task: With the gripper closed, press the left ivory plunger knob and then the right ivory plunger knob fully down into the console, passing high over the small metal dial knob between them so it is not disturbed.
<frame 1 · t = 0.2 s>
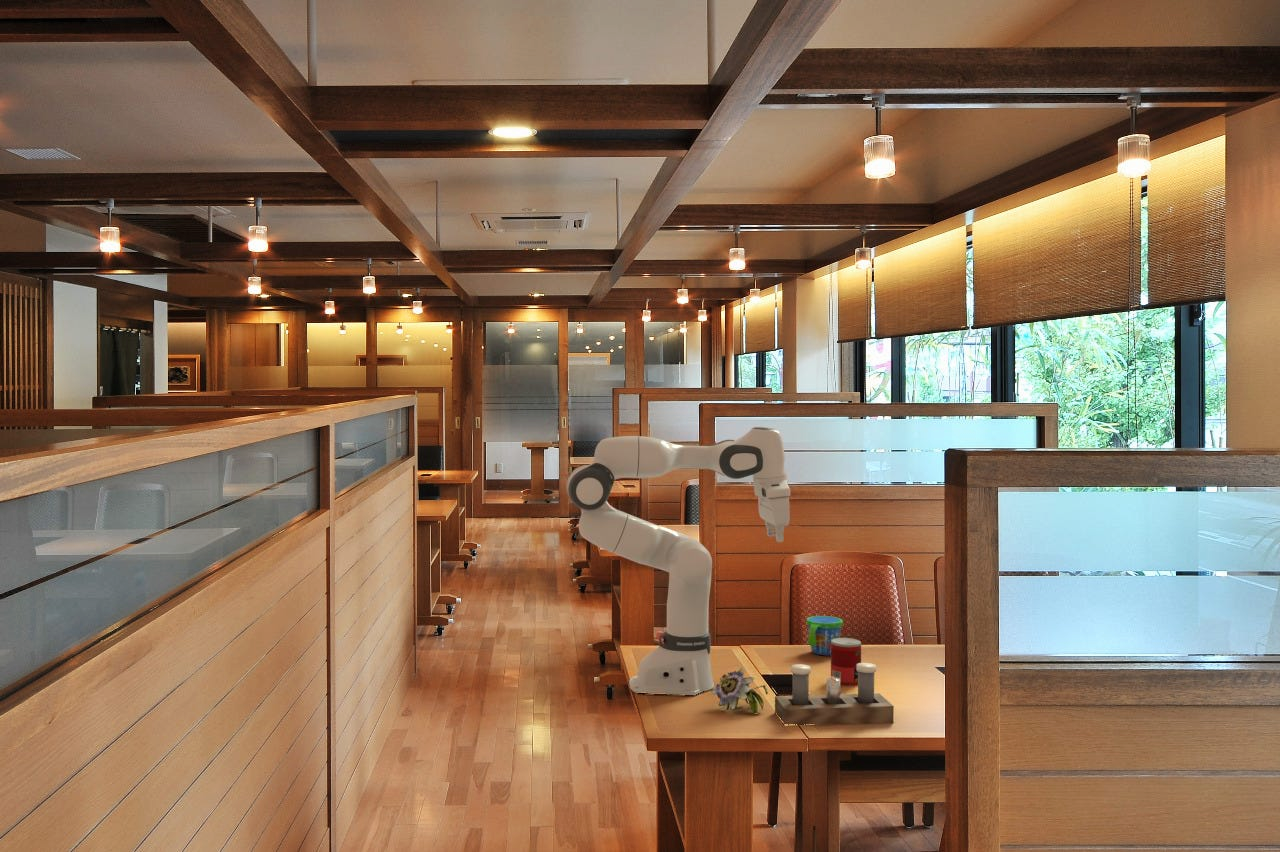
hand: (775, 539, 263), 39 cm above the table, tool pointing down, fingers open, 8 cm apart
canned food: (845, 682, 266), on the table
knob right: (866, 684, 237), point 8 cm above the table, slide at 0.0 cm
passion flower: (739, 709, 243), on the table
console: (833, 717, 236), on the table
snack cup: (824, 653, 296), on the table
knob left: (800, 686, 235), point 8 cm above the table, slide at 0.0 cm
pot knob: (833, 691, 236), point 6 cm above the table, slide at 0.0 cm
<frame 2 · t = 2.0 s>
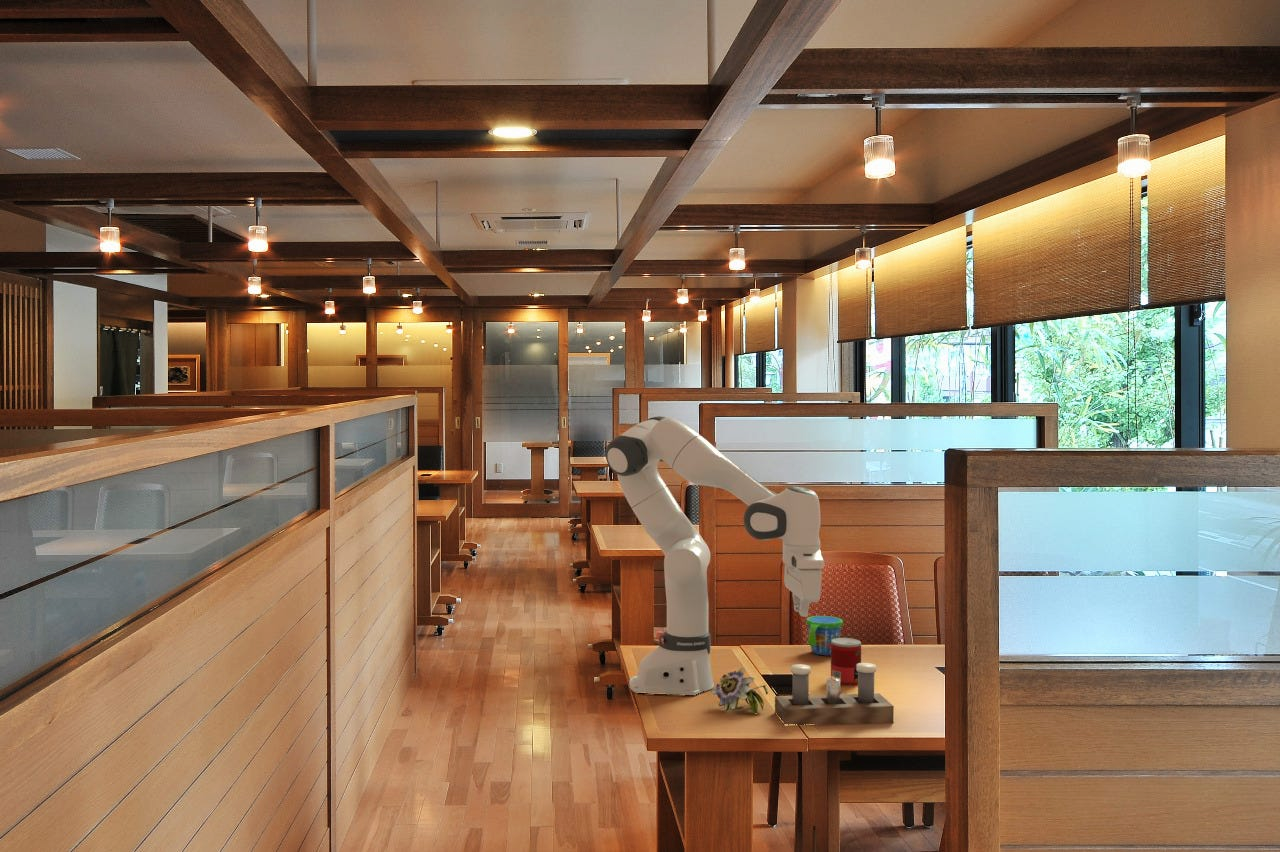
hand: (801, 613, 235), 25 cm above the table, tool pointing down, fingers open, 3 cm apart
nothing on the table moved.
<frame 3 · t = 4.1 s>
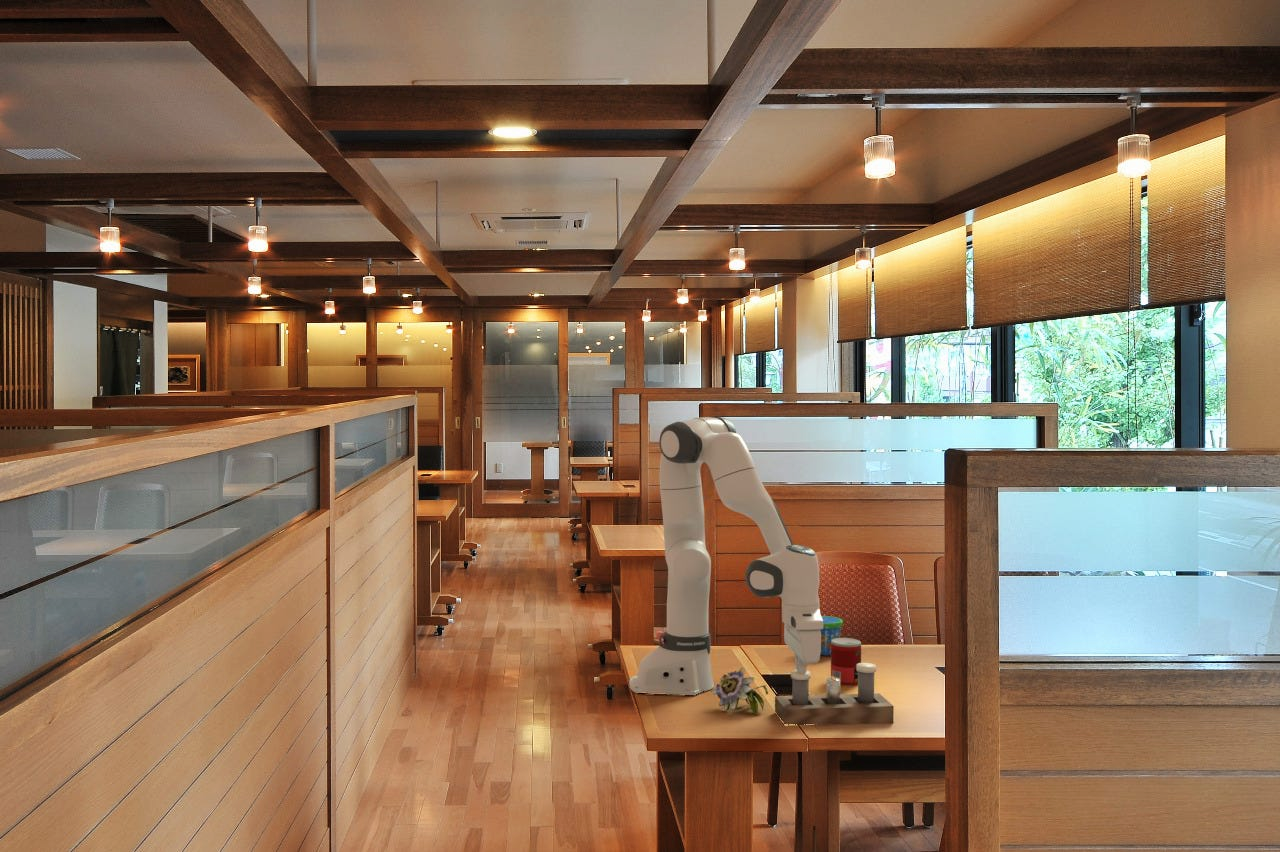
hand: (801, 672, 235), 11 cm above the table, tool pointing down, fingers closed, pressing on knob left
knob left: (800, 691, 235), point 6 cm above the table, slide at 1.3 cm, touching gripper
everything else where it was.
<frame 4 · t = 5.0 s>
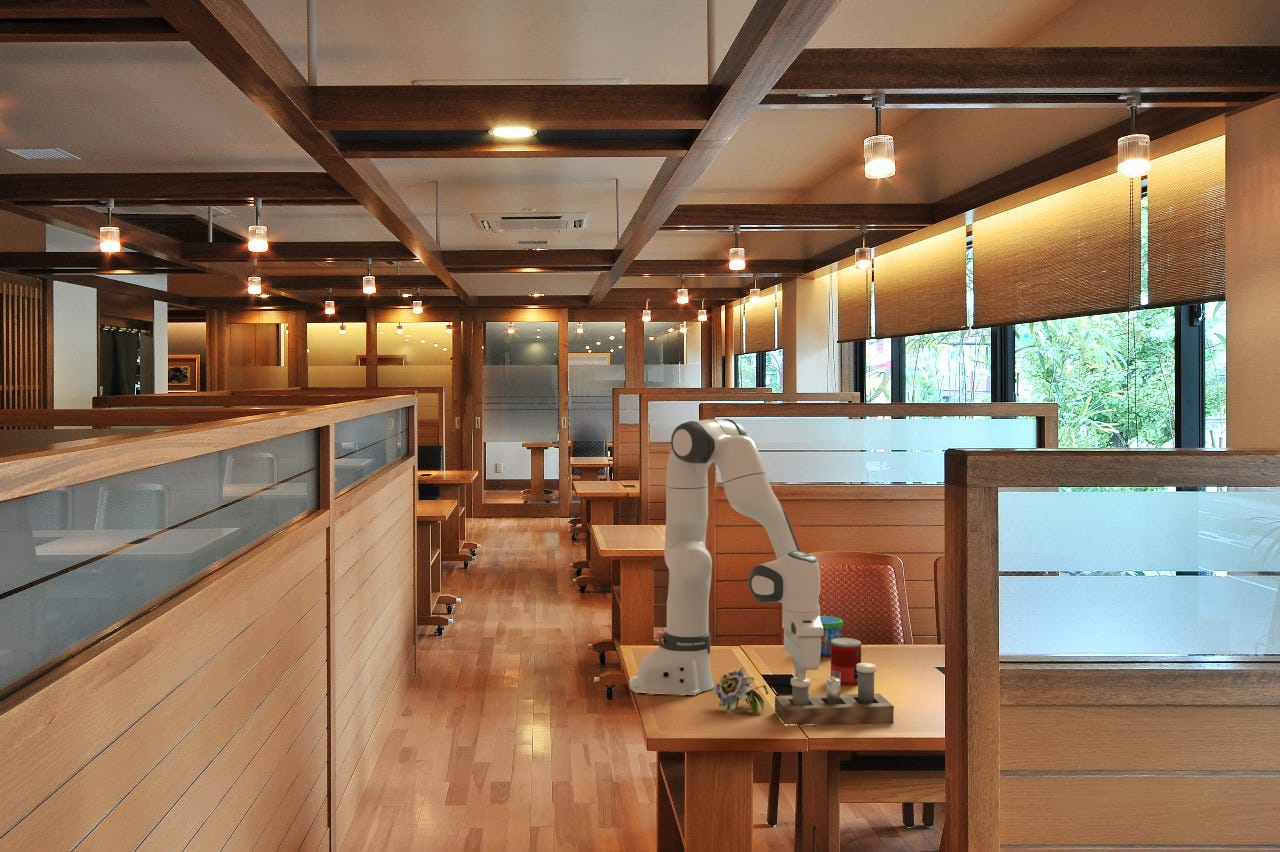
hand: (800, 678, 235), 10 cm above the table, tool pointing down, fingers closed
knob left: (800, 698, 235), point 5 cm above the table, slide at 3.0 cm
everything else where it was.
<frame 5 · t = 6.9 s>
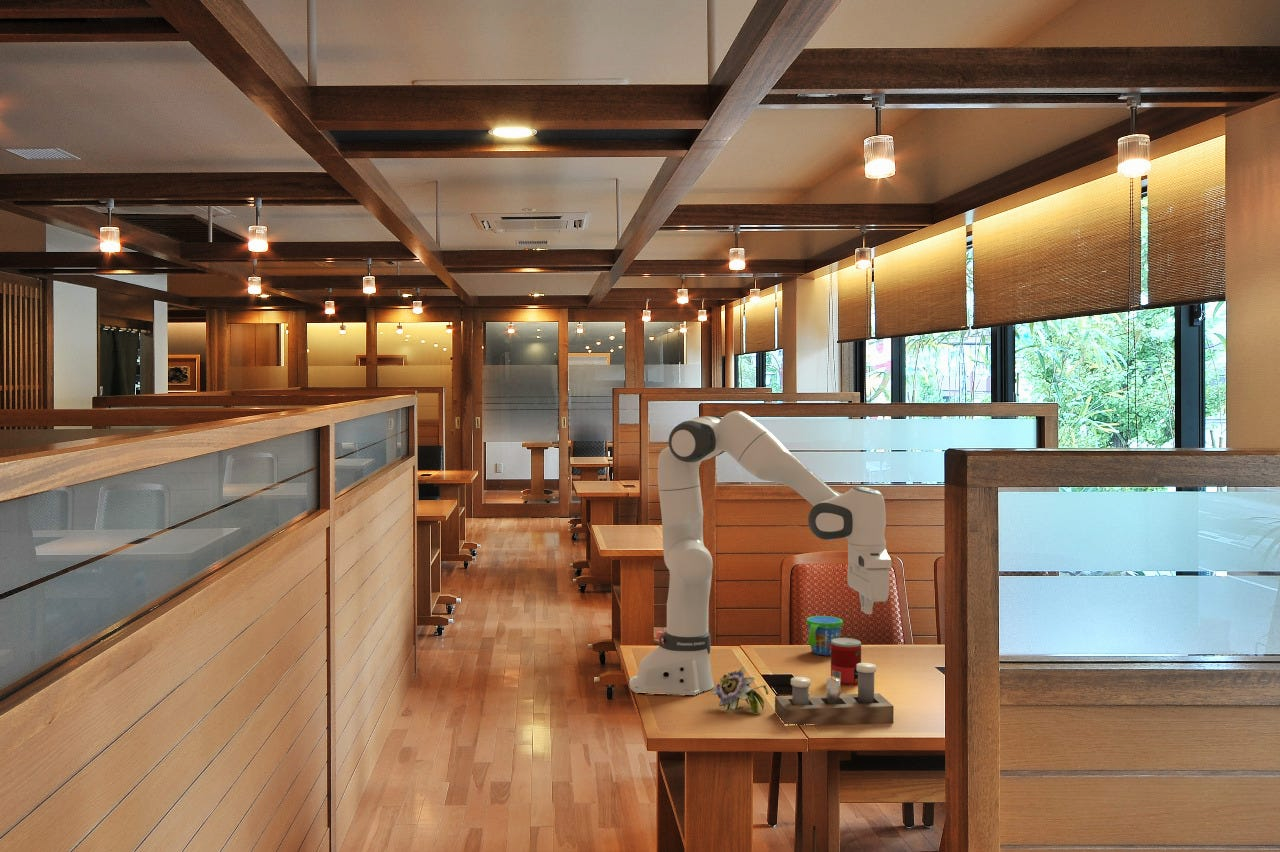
hand: (866, 613, 236), 25 cm above the table, tool pointing down, fingers closed
nothing on the table moved.
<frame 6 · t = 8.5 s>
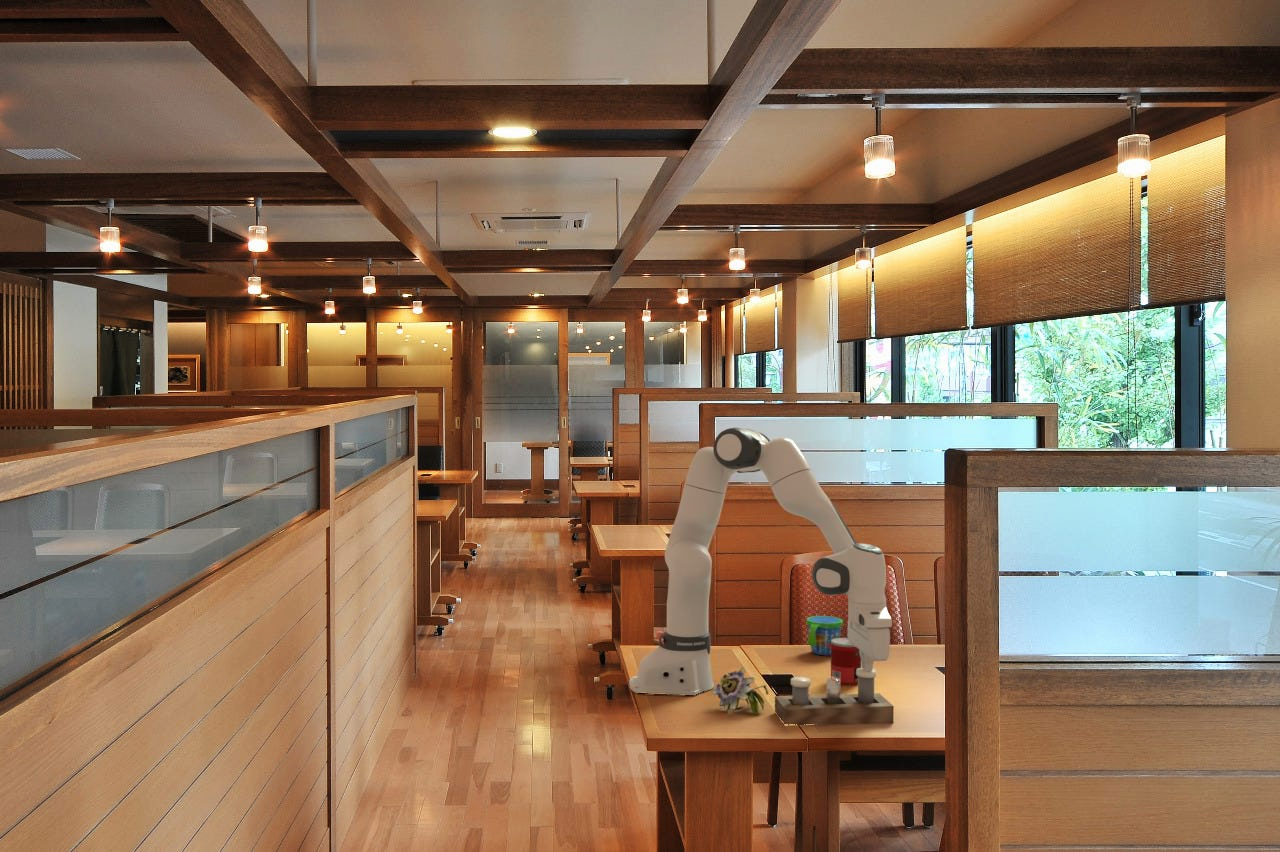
hand: (867, 670, 237), 11 cm above the table, tool pointing down, fingers closed, pressing on knob right
knob right: (866, 689, 237), point 7 cm above the table, slide at 1.2 cm, touching gripper
everything else where it was.
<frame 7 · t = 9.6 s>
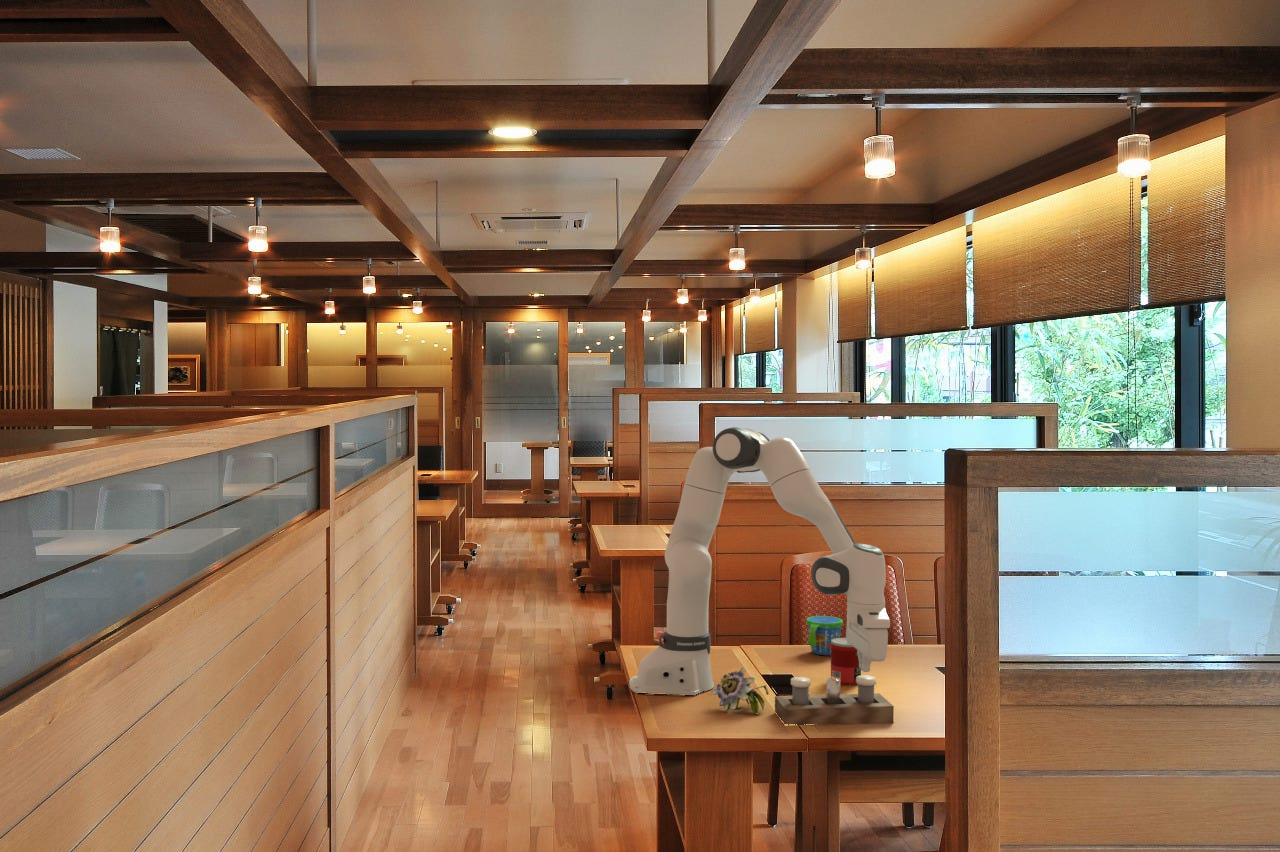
hand: (864, 670, 237), 11 cm above the table, tool pointing down, fingers closed
knob right: (866, 696, 237), point 5 cm above the table, slide at 3.0 cm
everything else where it was.
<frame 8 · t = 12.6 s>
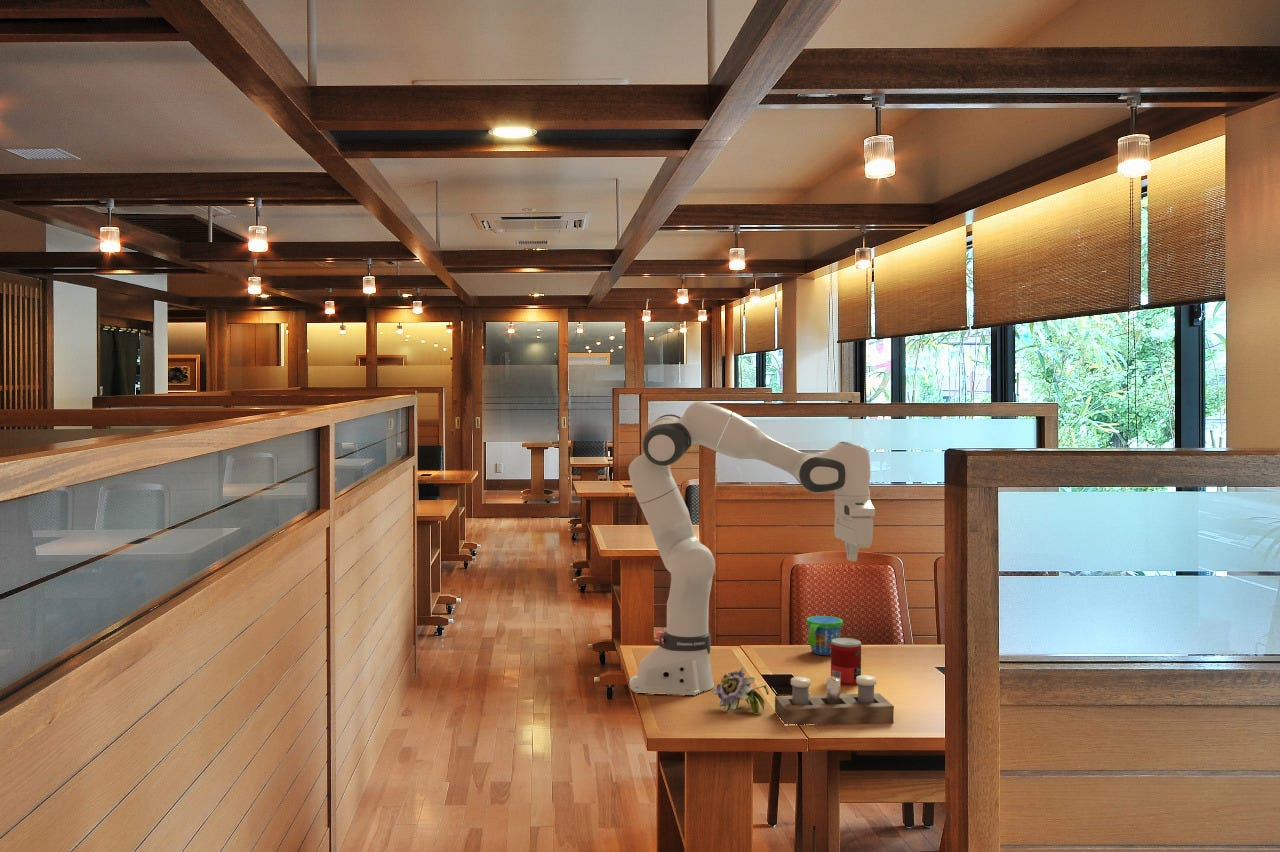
hand: (852, 560, 251), 35 cm above the table, tool pointing down, fingers closed
nothing on the table moved.
at the end: knob left slide at 3.0 cm; knob right slide at 3.0 cm; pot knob slide at 0.0 cm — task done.
